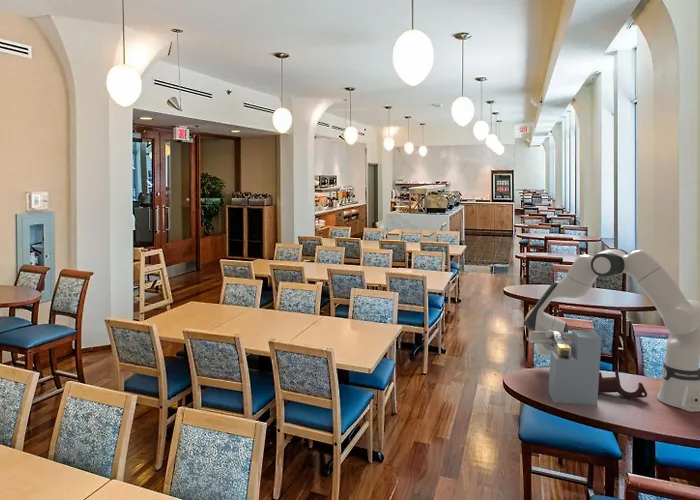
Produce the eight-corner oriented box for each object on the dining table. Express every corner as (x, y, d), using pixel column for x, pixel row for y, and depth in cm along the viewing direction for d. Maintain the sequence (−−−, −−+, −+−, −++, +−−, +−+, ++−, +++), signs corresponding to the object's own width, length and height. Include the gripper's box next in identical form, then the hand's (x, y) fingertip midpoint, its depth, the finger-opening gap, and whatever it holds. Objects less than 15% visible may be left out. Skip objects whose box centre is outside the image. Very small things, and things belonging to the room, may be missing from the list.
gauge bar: (559, 338, 214) (560, 329, 214) (569, 358, 195) (570, 348, 194) (549, 337, 215) (550, 328, 214) (558, 357, 196) (559, 347, 195)
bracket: (648, 397, 194) (642, 368, 197) (596, 398, 201) (591, 371, 204) (647, 397, 199) (641, 369, 203) (596, 399, 207) (592, 372, 210)
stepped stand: (589, 394, 203) (593, 330, 200) (597, 404, 194) (601, 338, 190) (548, 391, 206) (552, 328, 203) (554, 401, 196) (557, 336, 193)
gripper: (525, 332, 224) (531, 324, 211) (574, 335, 220) (583, 327, 208) (525, 347, 222) (531, 339, 209) (576, 350, 218) (584, 342, 205)
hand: (558, 333), depth 208 cm, fingers closed on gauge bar, 3 cm apart
